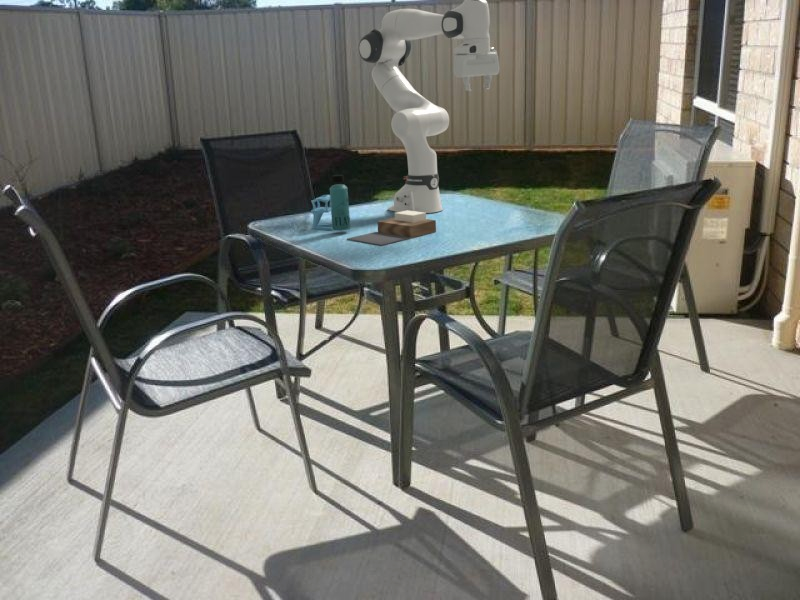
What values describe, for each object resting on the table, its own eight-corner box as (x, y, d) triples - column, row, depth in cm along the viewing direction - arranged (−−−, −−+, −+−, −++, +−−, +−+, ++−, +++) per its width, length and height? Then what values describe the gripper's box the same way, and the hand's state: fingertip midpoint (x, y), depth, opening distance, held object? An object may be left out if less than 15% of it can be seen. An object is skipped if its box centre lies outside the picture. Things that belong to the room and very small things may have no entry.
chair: (317, 226, 300) (314, 193, 296) (338, 226, 298) (336, 192, 294) (309, 230, 293) (306, 196, 289) (331, 230, 290) (328, 196, 287)
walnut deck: (378, 232, 282) (377, 221, 281) (403, 226, 290) (402, 215, 289) (410, 238, 271) (410, 226, 270) (436, 231, 279) (435, 220, 278)
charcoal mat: (347, 239, 274) (346, 238, 274) (375, 232, 282) (375, 231, 282) (381, 245, 262) (381, 244, 262) (410, 238, 270) (410, 237, 270)
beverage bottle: (333, 235, 282) (329, 176, 276) (331, 231, 288) (326, 174, 282) (352, 233, 283) (348, 175, 277) (349, 230, 289) (345, 173, 283)
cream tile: (395, 219, 282) (394, 213, 281) (407, 217, 286) (407, 210, 285) (413, 222, 276) (413, 215, 275) (426, 219, 280) (425, 212, 279)
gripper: (489, 47, 289) (490, 88, 293) (450, 49, 276) (451, 91, 280) (503, 46, 285) (503, 88, 289) (464, 48, 271) (465, 91, 275)
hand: (477, 89), depth 284 cm, fingers open, 8 cm apart
